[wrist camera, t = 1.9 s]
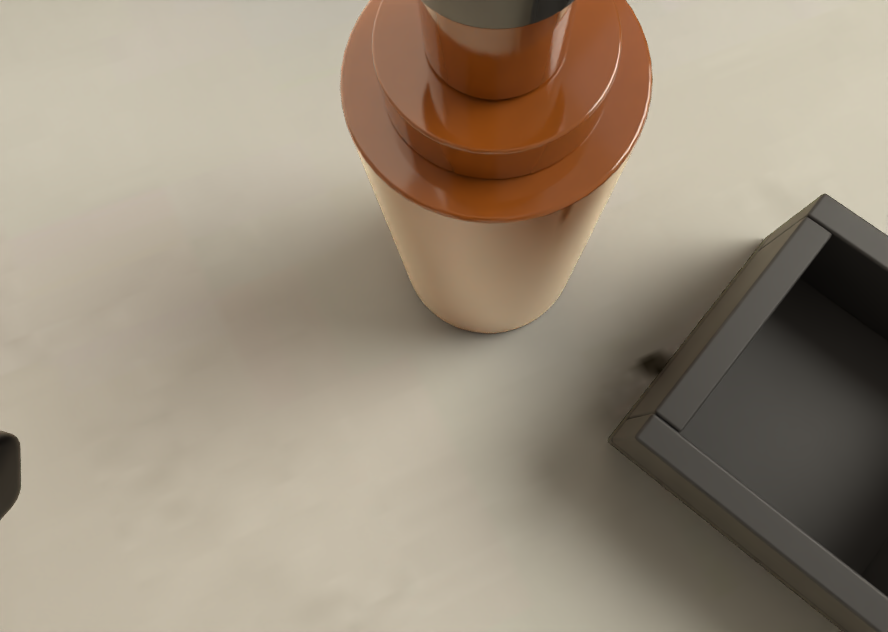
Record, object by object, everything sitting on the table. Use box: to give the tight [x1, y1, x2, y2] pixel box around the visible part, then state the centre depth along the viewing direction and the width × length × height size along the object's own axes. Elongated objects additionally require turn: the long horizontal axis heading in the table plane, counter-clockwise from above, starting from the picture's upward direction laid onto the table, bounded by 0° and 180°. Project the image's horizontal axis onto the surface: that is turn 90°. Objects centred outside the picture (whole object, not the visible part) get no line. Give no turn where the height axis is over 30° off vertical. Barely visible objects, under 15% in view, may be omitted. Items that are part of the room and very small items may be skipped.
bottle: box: [340, 0, 653, 333], centre depth 14 cm, size 5×5×14 cm
